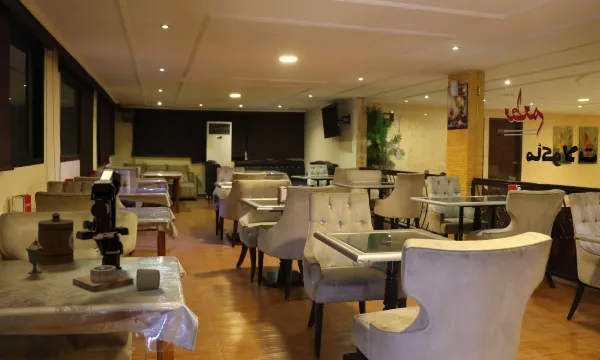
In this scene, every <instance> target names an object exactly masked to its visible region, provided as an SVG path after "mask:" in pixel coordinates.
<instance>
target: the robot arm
mask: <svg viewBox="0 0 600 360" xmlns="http://www.w3.org/2000/svg"><path fill="white" fill-rule="evenodd" d="M101 170H102V172H101V174H100V175H99V179H97V180H95V181H94V182H93V184H92V185H91V192H90V198H89V199H90V201H94V204H93V205H91V208H90V213H91V215H92V216H93V218H92V221H90V219H89V220H83V222H82V227H83V230H77V231H76V233H75V239H78V240H80V241H88V240H89V241H90V240H93V241H95V243H96V245H97V247H98V250H99V255H100V256H102V258H101V266H105V265H108V266H115V267H116V270H118V269H119V270H121V269H122V268H123V267H122V266H121V256H122V255H124V244H123V242H122V240H121V236H129V235H130V229H129V228H128V227H125V226H117V197H118V195H119V194H120V192H121V188H122V186H123V179H122V175H121V173H118V172H117V171H116V169H114V168H104V169H101Z"/></svg>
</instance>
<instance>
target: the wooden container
mask: <svg viewBox="0 0 600 360" xmlns="http://www.w3.org/2000/svg"><path fill="white" fill-rule="evenodd" d="M51 217H52V218H50V219H46V220H45V219H44V220H39V221H38V223H37V226H38V227H37V229H38V230H37V241H38V243H39V244H40V246H41V247H42V248H44V249H43V250H42V252H41V259H40V262H39V263H38V264H43V265H59V264H61V265H62V264H67V263H71V262H73V261H74V260H75V259H74V257H75V256H74V253H75V252H74V247H75V245H74V243H75V241H74V240H75V239H74V226H75V225H74V222H75V221H74V220H73V219H64V218H61V214H60V213H59V212H54V213H52V214H51Z"/></svg>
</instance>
